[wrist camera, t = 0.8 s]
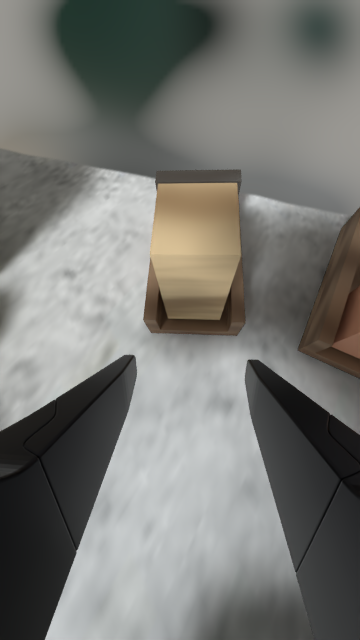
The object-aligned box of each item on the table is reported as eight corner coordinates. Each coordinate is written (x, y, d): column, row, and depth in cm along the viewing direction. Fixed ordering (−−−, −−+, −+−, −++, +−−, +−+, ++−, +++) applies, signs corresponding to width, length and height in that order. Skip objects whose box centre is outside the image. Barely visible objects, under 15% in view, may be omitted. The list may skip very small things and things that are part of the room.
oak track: (236, 335, 20) (250, 315, 16) (150, 332, 21) (139, 312, 16) (231, 211, 26) (240, 168, 21) (163, 211, 26) (156, 169, 21)
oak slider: (219, 319, 20) (241, 255, 11) (168, 318, 20) (149, 254, 11) (219, 271, 21) (237, 182, 13) (171, 270, 22) (158, 183, 13)
